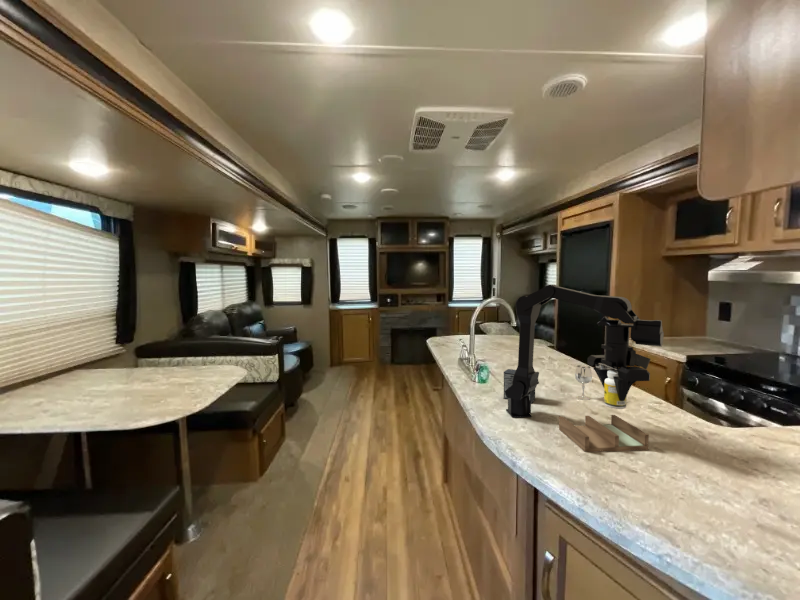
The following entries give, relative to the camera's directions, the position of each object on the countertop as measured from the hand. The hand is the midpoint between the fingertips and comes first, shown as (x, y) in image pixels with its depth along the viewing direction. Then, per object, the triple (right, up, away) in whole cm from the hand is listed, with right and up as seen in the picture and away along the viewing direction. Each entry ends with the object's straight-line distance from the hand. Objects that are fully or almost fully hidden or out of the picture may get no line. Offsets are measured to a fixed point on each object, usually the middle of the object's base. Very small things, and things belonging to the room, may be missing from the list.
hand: (615, 397), depth 101 cm
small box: (-15, -10, +35) cm, 40 cm away
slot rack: (-4, -12, 0) cm, 12 cm away
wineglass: (+9, -10, +35) cm, 37 cm away
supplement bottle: (0, -3, 0) cm, 3 cm away
